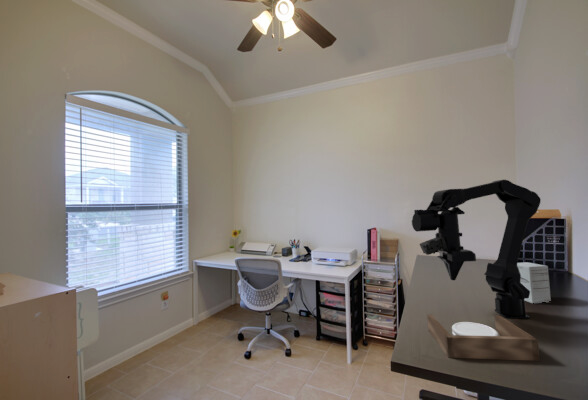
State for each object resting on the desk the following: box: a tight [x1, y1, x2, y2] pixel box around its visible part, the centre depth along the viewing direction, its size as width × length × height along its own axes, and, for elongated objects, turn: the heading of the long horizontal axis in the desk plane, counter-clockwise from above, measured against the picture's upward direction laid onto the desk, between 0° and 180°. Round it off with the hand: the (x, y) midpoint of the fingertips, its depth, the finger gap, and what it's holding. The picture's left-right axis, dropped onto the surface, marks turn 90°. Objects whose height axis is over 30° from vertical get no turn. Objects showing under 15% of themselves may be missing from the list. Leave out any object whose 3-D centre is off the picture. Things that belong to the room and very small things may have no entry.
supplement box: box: [517, 261, 552, 304], centre depth 97 cm, size 7×7×13 cm
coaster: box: [451, 321, 500, 336], centre depth 68 cm, size 10×10×4 cm
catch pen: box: [426, 314, 541, 362], centre depth 67 cm, size 18×14×4 cm
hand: (453, 280), depth 84 cm, fingers closed
